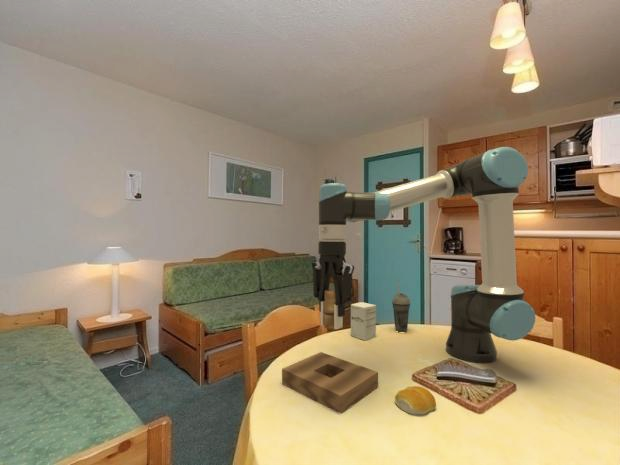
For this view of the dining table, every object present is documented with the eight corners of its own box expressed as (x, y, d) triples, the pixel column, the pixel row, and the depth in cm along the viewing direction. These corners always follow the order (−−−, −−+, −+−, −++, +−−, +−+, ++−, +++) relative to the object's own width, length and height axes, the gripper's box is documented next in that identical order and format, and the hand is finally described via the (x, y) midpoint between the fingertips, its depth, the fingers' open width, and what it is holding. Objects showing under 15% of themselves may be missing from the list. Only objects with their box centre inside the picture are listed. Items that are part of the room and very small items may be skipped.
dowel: (342, 327, 83) (342, 290, 83) (332, 330, 80) (332, 292, 80) (330, 323, 86) (331, 288, 86) (321, 327, 83) (321, 290, 83)
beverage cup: (411, 334, 122) (411, 284, 122) (392, 333, 123) (392, 284, 123) (409, 329, 129) (409, 281, 129) (391, 328, 130) (391, 281, 130)
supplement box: (350, 336, 120) (349, 304, 120) (362, 332, 125) (361, 301, 125) (364, 341, 114) (364, 307, 115) (376, 336, 119) (376, 304, 119)
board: (378, 387, 80) (378, 372, 80) (340, 413, 68) (340, 395, 68) (321, 364, 94) (321, 351, 94) (282, 383, 82) (281, 368, 82)
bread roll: (442, 407, 71) (442, 390, 71) (417, 420, 66) (417, 402, 66) (412, 392, 78) (412, 376, 78) (388, 403, 73) (388, 386, 73)
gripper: (300, 240, 86) (299, 322, 86) (349, 241, 74) (348, 337, 74) (318, 239, 92) (317, 317, 92) (366, 241, 80) (365, 330, 80)
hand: (331, 326), depth 83 cm, fingers closed on dowel, 4 cm apart
